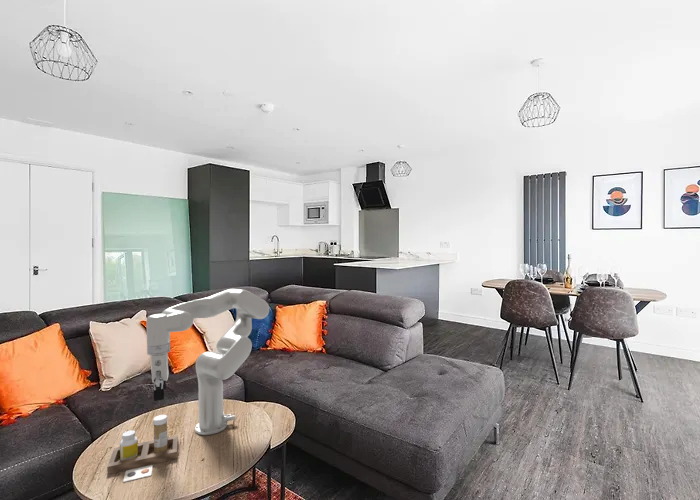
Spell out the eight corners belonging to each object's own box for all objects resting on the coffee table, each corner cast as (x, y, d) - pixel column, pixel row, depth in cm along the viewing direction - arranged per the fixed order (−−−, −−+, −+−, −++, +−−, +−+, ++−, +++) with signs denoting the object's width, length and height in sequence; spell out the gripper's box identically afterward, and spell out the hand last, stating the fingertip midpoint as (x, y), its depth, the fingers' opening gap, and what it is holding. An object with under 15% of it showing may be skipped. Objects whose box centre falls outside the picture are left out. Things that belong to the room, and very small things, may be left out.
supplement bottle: (141, 458, 130) (140, 431, 129) (126, 466, 125) (126, 438, 124) (131, 454, 132) (131, 428, 132) (116, 462, 127) (116, 435, 127)
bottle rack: (177, 441, 140) (177, 435, 140) (176, 458, 129) (176, 451, 129) (114, 455, 132) (114, 448, 131) (107, 474, 121) (107, 467, 120)
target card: (152, 465, 125) (152, 464, 125) (151, 475, 120) (151, 474, 120) (126, 471, 122) (126, 470, 122) (122, 482, 116) (122, 481, 116)
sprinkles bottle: (152, 453, 132) (151, 417, 132) (164, 448, 136) (164, 413, 135) (157, 458, 129) (156, 421, 129) (170, 452, 133) (169, 416, 132)
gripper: (169, 353, 125) (170, 402, 126) (171, 341, 141) (172, 384, 141) (144, 356, 122) (145, 406, 123) (149, 343, 138) (150, 387, 138)
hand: (160, 394), depth 132 cm, fingers open, 9 cm apart
